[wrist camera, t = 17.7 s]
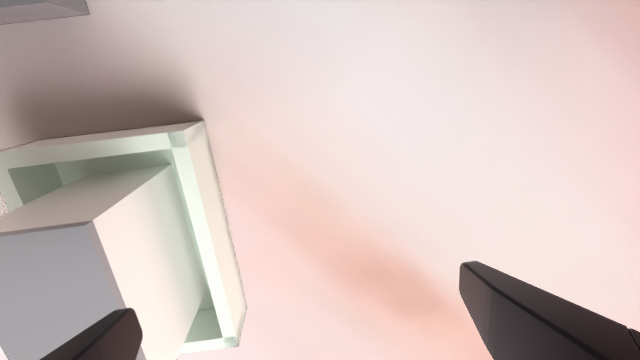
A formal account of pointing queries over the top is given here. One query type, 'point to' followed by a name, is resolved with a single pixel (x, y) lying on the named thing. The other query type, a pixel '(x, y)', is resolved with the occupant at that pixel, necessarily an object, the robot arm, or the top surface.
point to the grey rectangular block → (99, 263)
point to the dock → (40, 10)
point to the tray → (195, 190)
